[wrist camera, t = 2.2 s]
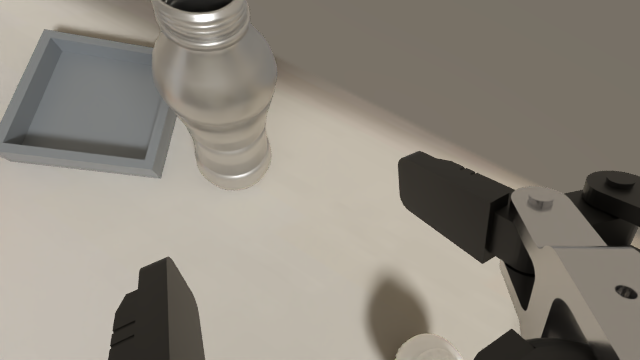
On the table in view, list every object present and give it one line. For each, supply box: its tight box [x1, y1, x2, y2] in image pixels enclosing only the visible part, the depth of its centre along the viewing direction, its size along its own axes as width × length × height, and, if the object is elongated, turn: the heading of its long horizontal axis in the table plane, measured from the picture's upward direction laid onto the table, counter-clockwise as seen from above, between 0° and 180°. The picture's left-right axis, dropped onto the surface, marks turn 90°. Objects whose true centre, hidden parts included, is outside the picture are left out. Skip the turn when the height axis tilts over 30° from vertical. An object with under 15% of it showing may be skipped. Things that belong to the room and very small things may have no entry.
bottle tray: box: [0, 29, 177, 178], centre depth 29 cm, size 13×13×2 cm
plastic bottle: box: [151, 0, 277, 190], centre depth 21 cm, size 6×7×20 cm
